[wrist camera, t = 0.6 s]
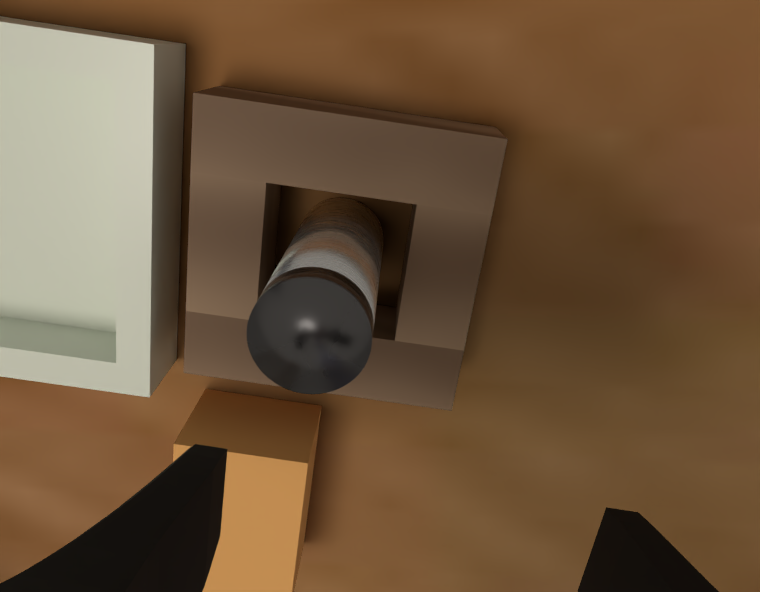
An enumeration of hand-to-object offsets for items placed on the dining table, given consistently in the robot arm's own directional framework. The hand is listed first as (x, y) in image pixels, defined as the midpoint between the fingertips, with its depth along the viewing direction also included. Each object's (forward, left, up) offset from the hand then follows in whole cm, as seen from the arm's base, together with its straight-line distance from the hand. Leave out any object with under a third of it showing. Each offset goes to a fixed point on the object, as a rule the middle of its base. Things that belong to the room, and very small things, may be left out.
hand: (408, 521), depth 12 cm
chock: (-7, +4, -10) cm, 13 cm away
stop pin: (+2, +2, -10) cm, 10 cm away
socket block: (+2, +2, -10) cm, 10 cm away
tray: (+2, +12, -10) cm, 16 cm away
